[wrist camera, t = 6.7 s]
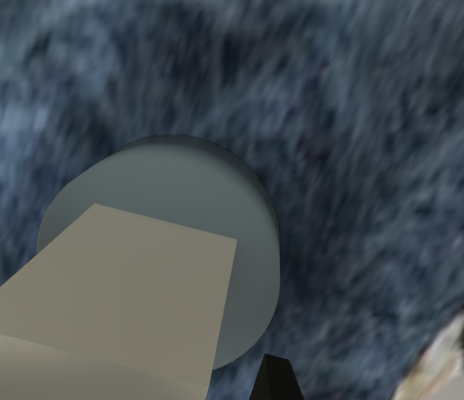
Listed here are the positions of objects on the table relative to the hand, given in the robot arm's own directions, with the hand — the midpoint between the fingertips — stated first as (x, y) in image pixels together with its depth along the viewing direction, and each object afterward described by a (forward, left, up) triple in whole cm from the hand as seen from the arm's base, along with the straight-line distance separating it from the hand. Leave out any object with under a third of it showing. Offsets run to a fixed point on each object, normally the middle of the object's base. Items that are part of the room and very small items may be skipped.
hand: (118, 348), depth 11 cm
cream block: (0, 0, -3) cm, 3 cm away
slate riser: (0, 0, -7) cm, 7 cm away
